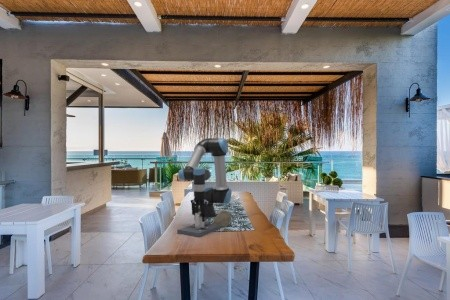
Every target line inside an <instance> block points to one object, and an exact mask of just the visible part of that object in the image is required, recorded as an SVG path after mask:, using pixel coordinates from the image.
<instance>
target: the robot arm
mask: <svg viewBox="0 0 450 300" xmlns="http://www.w3.org/2000/svg"><path fill="white" fill-rule="evenodd" d="M228 152H229V142H228V141H227V139H226V138H224V137H223V138H222V137H211V138H210V137H209V138H208V137H207V138H204V139H201V140H200V141H199V142H197V144H196V145H195V146H194V148H193V151H192V154H191V156H190V158H189V160H188V161H187V163H186V165H185V167H184V168H182V169H179V170H178V174H177V176H178V179H179V180H182V181H193V199H191V200H190V202H191V214H192V216H194V217H195V213H197V212H201V215H202V216H201V227H203V226H204V221H206V218H213V217H217V216H216V215H217V214H216V210H215V206H214V204H222V205H223V204H225V205H226V204H229V203H230V202H231V200H232V199H231V198H232V189H230V187H229V185H228V183H227V170H226V156H227V153H228ZM206 154H211V156H212V157H213V163H214V164H213V165H214V174H215V176H214V177H215V186H214V187H213V186H209V187H206V181H208V180H209V179H210V178H211V176H212V173H211V171H210V169H207V168H205V167H199V164H200V162H201V160H202V158H203V156H206Z"/></svg>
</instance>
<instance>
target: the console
mask: <svg viewBox="0 0 450 300" xmlns="http://www.w3.org/2000/svg"><path fill="white" fill-rule="evenodd" d="M220 230H221V226H220V225H213V224H212V223H210V221H209V220H205V221H204V228H201V229H196V228H195V223H193V224H190V225H187V226H185V227H182V228H178V229H177V230H176V233H177V234H178V235H183V236H190V237H196V238H201V237H203V236H206V235H208V234H212V233H214V232H217V231H220Z"/></svg>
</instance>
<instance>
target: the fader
mask: <svg viewBox="0 0 450 300" xmlns="http://www.w3.org/2000/svg"><path fill="white" fill-rule="evenodd" d="M201 216H202V215H201V212H197V213H195V216H194V224H195V228H196V229H201V228H204V226H203V227H201Z"/></svg>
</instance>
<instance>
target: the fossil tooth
mask: <svg viewBox="0 0 450 300" xmlns="http://www.w3.org/2000/svg"><path fill="white" fill-rule="evenodd" d="M232 218H233V216H232V215H231V214H230V213H229V211H227V210H221V211H219V212H218V214H217V216H215V218H214V219H213V221H212V222H211V224H213V225H220V227H224V228H226V227H228V226H229V225H230V223H231V222H232Z"/></svg>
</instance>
